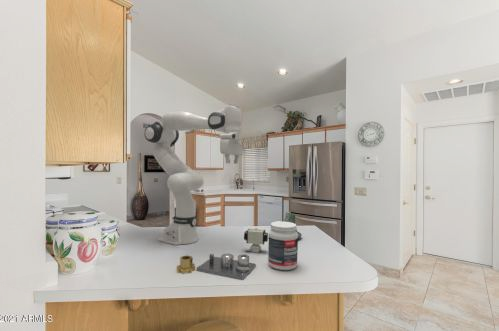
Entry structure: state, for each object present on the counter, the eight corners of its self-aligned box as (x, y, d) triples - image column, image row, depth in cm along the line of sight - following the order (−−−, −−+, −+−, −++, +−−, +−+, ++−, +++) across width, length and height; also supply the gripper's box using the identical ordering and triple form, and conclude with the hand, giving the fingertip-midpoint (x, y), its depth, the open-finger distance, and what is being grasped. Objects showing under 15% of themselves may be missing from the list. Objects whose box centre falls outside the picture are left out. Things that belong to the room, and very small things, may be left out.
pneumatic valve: (266, 254, 126) (267, 230, 126) (243, 252, 129) (243, 228, 128) (267, 250, 132) (268, 227, 132) (245, 248, 134) (246, 225, 134)
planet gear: (173, 271, 104) (173, 259, 104) (184, 265, 111) (184, 253, 111) (188, 274, 102) (188, 262, 102) (198, 267, 108) (198, 256, 108)
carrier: (196, 270, 106) (196, 254, 106) (213, 259, 119) (213, 244, 119) (243, 280, 98) (243, 262, 98) (255, 266, 111) (256, 251, 111)
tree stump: (262, 236, 158) (268, 208, 160) (288, 241, 166) (294, 214, 168) (276, 244, 141) (283, 212, 144) (305, 248, 149) (311, 218, 151)
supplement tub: (291, 274, 104) (292, 229, 104) (263, 267, 110) (263, 225, 110) (301, 263, 115) (302, 223, 115) (275, 258, 122) (275, 219, 121)
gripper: (235, 138, 142) (234, 163, 142) (217, 134, 123) (217, 163, 123) (245, 138, 140) (245, 163, 140) (229, 134, 121) (229, 163, 121)
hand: (232, 163), depth 132 cm, fingers open, 8 cm apart
